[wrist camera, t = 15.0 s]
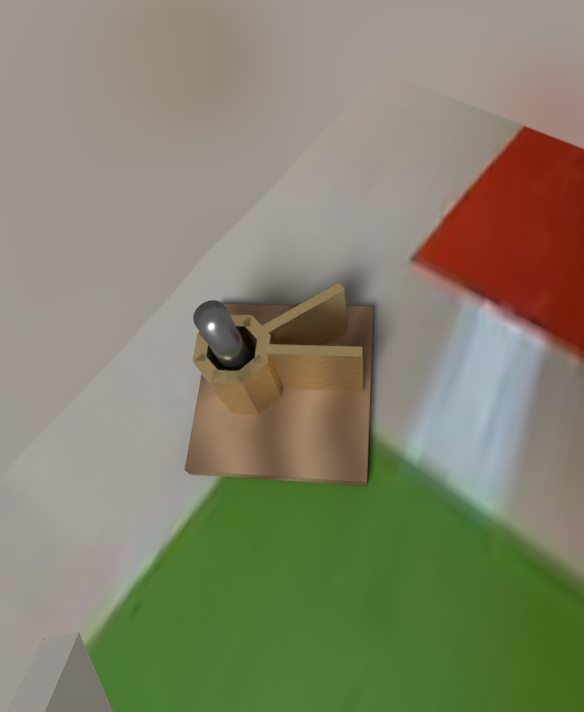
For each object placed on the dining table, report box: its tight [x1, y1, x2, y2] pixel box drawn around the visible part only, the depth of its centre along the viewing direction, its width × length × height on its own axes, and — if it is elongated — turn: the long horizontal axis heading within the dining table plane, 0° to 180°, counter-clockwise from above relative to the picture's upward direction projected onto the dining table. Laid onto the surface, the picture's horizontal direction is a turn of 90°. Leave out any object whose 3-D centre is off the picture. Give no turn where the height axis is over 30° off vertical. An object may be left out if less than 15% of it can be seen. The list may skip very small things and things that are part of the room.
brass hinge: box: [193, 283, 363, 415], centre depth 45 cm, size 13×9×7 cm
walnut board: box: [185, 304, 373, 486], centre depth 48 cm, size 15×16×2 cm
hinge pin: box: [194, 301, 253, 371], centre depth 43 cm, size 2×2×12 cm
